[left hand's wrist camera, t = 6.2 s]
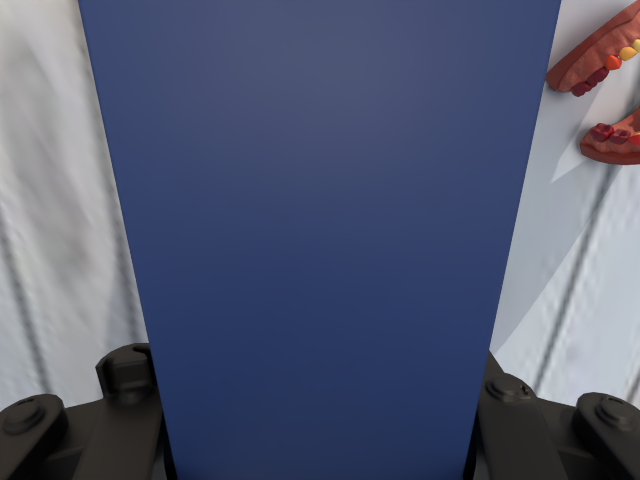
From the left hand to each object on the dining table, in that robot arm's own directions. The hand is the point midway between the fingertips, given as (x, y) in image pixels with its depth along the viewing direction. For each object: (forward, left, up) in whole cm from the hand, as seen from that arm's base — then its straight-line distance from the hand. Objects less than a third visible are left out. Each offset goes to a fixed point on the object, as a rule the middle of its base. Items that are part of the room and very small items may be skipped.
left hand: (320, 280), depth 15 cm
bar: (-2, +9, -1) cm, 10 cm away
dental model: (+14, +11, -10) cm, 21 cm away
